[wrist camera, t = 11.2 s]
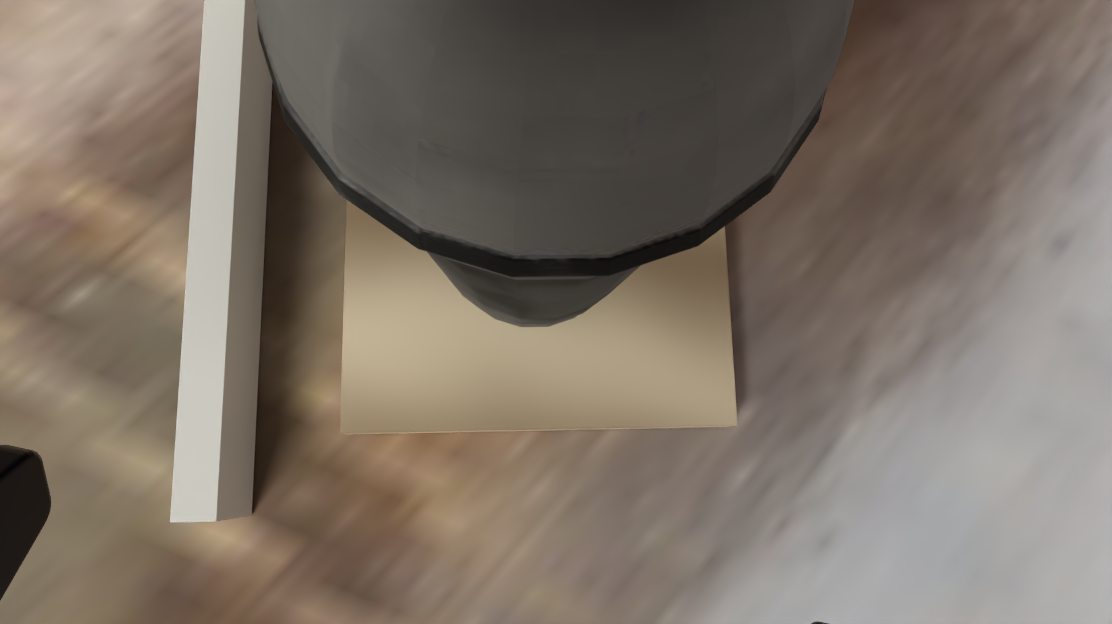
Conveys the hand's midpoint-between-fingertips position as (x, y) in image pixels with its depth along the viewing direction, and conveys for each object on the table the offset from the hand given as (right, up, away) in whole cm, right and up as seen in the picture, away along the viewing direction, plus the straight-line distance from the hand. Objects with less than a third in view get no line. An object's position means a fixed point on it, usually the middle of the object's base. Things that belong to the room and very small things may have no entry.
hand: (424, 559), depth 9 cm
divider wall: (-7, +5, +13) cm, 15 cm away
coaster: (+1, +5, +13) cm, 14 cm away
